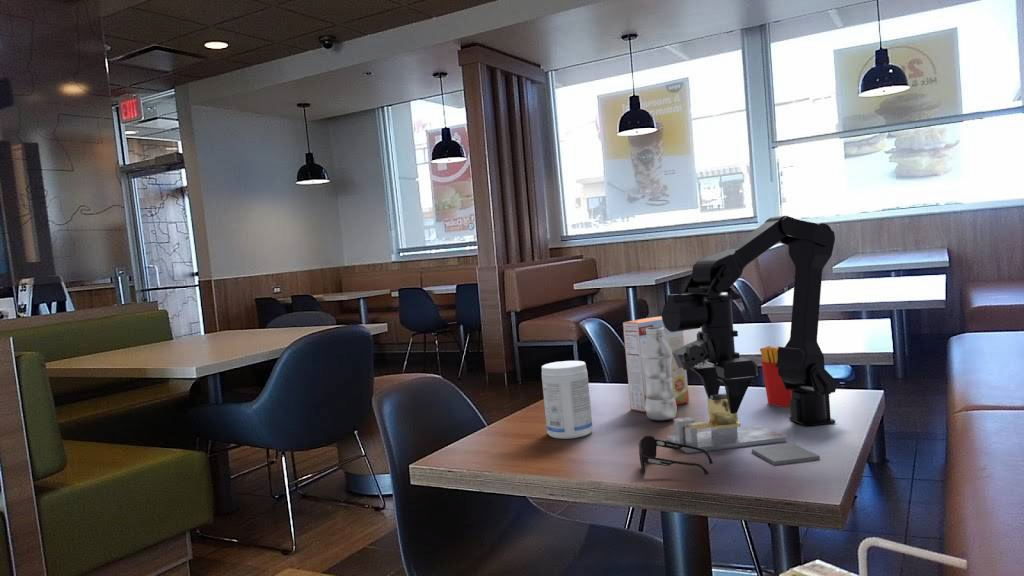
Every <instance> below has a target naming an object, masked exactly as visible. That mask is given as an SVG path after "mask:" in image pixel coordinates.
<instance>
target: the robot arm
mask: <svg viewBox="0 0 1024 576" xmlns="http://www.w3.org/2000/svg"><path fill="white" fill-rule="evenodd" d="M835 242H836V235H835V232H834V230H832V228H831V226H829V225H828V224H826V223H823V222H822V223H819V222H818V223H817V222H812V221H806V220H802V219H797V218H794V217H791V216H789V215H780V216H772V217H769V218H767V219H766V220H765V221H764V223H763V224H761V225H760V226H758V227H757V228H756V229H754V230H752V231H751V232H750V233H748V234H747V235H745V236H744V237H742V238H741V239H740V240H739V241H737V242H736V243H734V244H733V245H732V246H730V247H729V248H727V249H725V250H723V251H721V252H717V253H713V254H711V255H709V256H707V257H704V258H702V259H700V260H698V261H696V262H695V263H694V264H693V266H692V273H691V275H690V276H689V279H688V281H687V283H686V285H685V286H684V289H683V291H682V293H681V294H679V293H677V294H676V293H672V294H671V293H670V294H668V295H667V301H666V302H665V303H664V305H663V308H662V312H661V316H662V321H663V324H664V326H665V327H666V329H667V330H668V331H670V332H677V331H683V332H684V331H690V330H697V329H700V331H699V330H698V331H697V333H696V340H694V341H691V342H689V343H686V344H684V346H683V347H681V348H678V349H676V350H674V351H673V352H672V354H673V356H674V358H675V361H676V363H677V365H678V367H679V368H683V369H684V370H686V371H689V370H691V371H692V372H694V373H696V374H697V375H698V376H699V378H700V380H701V382H702V386H703V388H704V391H705V394H706V396H707V399H708V398H709V397H710V395H715V394H720V387H721V384H722V385H723V386H724V389H725V393H726V395H727V400H728V405H729V409H730V413H731V414H736V413H737V414H738V413H739V409H740V407H741V404H742V402H743V400H744V397H745V395H746V392H747V390H748V388H749V386H750V385H751V383H752V381H754V380H755V377H756V376H758V375H759V374H758V373H759V372H758V364H757V363H756V362H755V361H753V360H752V359H749V358H746V357H740V352H737V351H736V349H735V337H739V334H738V333H739V331H738V330H734V322H733V306H732V301H736V300H741V297H742V296H741V294H739V293H738V292H736V291H735V290H734V288H732V287H733V285H734V284H735V283H736V282H737V281H738V280H739V279H740V278H741V277H742V275H743V271H744V269H745V268H746V267H747V266H748V265H749V264H751V263H752V262H753V261H755V260H756V259H757V258H759V257H760V256H762V255H763V254H764V253H766V252H767V251H768V250H770V249H771V248H772V247H773V246H775V245H777V244H778V243H779V244H782V245H784V246H787V247H788V255H789V258H790V259H791V262H792V264H793V266H794V269H795V270H794V281H793V282H794V285H793V297H792V310H791V323H790V335H789V340H788V341H787V343H786V344H785V346H784V347H783V346H778V347H779V348H778V351H777V353H778V360H777V364H776V367H778V374H779V376H780V377H781V378H782V381H783V384H784V386H785V389H786V390H794V391H791V392H792V399H790V407H789V409H790V416H788V417H789V418H788V420H790V421H792V422H794V423H797V424H800V425H801V426H804V427H810V426H818V425H826V424H827V425H828V424H835V423H836V419H833V418H832V417H831V405H830V395H831V394H833V393H836V389H837V384H838V382H837V380H836V379H835V378H834V377H833V376H832V375H831V373H830V372H828V371H827V370H826V368H825V356H824V353H823V351H822V349H821V348H820V347H821V346H820V345H819V343H818V331H819V317H820V305H821V294H822V293H821V292H822V291H821V290H822V278H823V270H824V268H825V266H826V264H828V262H829V260H830V259H831V258H832V256H833V250H834V247H835V246H834V245H835Z"/></svg>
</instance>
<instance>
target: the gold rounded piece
mask: <svg viewBox="0 0 1024 576" xmlns="http://www.w3.org/2000/svg"><path fill="white" fill-rule="evenodd" d="M707 411H708V420H706V421H699V422H695V423H690V424H685V428H687V427H695V428H697V430H700V429H711V427H714V428H716V429H722V428H731V427H737V428H739V427H742V423H741V422H739V418H738V415H739V414H738V412H737V413H736V414H731V413H730V409H729V405H728V400H727V395H726V392H724V393H718V394H715V395H710V397H709V398H708V397H707Z"/></svg>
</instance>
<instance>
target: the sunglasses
mask: <svg viewBox="0 0 1024 576" xmlns="http://www.w3.org/2000/svg"><path fill="white" fill-rule="evenodd" d="M657 447H661V448H666V449H671V450H676V451H677V450H681V449H680V448H682V447H686V448H691V449H696V450H699V451H702V453H704V454H705V455H706V457H707V459H708V463H709V464H711V465H712V464H714V462H713V460H712V458H711V456H710V454H709V453H708V451H705V450H703V449H700V448H697V447H693V446H688V445H683V444H678V443H672V442H669V441H668V440H662V439H657V438H655V437H654V436H652V435H643V436H642V437H641V438H639V441H638V456H639V462H640V466H641V470H642V473H643V474H645V473H646V466H645V465H646V464H650V465H651V464H652V465H655V466H656V465H657V466H662V467H663V466H664V467H669V466H672V465H674V464H675V465H676V464H677V465H683V466H695V467H698V468H700V469H701V470H702V471H703V474H704V475H708V474H709V473H710V472H709V471H708V470H707V469H706V468H705V467H704V466H702V465H701V464H698V463H693V462H686V461H685V462H683V461H677V460H673V459H672V460H671V459H666V458H660V457H656V456H657ZM645 463H646V464H645Z"/></svg>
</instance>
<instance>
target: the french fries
mask: <svg viewBox="0 0 1024 576" xmlns="http://www.w3.org/2000/svg"><path fill="white" fill-rule="evenodd" d="M779 347H780V346H777V347H775V346H773V347H772V346H771V345H770V346H769V345H767V346H765V347H762V348H759V351H760V354H761V358H762V361H761V367H762V374H763V379H764V386H765V391H766V398H767V404H768V403H769V405H770V404H771V406H776V405H778V407H785V406H786V407H787V408H790V399H792V392H791V391H794V390H786V389H785V386H784V384H783V381H782V378H781V377H780V376H779V374H778V367H776V364H777V360H778V353H777V351H778V348H779Z"/></svg>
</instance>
